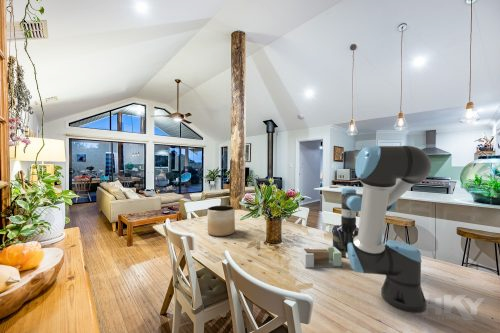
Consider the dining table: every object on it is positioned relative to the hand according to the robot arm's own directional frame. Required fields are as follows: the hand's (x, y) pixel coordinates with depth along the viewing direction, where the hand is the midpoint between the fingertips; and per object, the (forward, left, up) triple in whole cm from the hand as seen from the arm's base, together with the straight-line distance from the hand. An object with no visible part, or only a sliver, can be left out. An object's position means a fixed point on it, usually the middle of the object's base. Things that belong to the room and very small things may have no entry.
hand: (348, 257), depth 122 cm
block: (0, +18, -3) cm, 18 cm away
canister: (+12, -1, -3) cm, 12 cm away
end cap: (0, +8, -2) cm, 8 cm away
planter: (+57, +77, -3) cm, 96 cm away
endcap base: (0, +16, -3) cm, 16 cm away
